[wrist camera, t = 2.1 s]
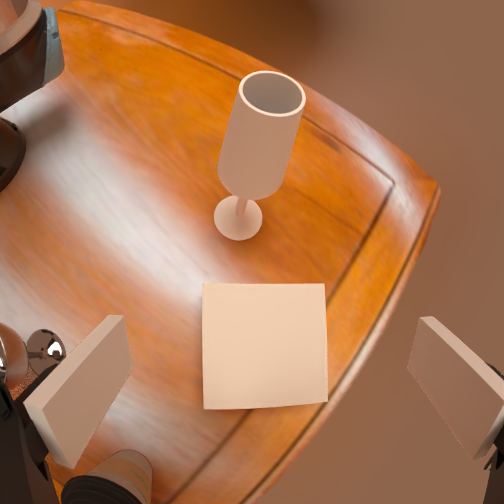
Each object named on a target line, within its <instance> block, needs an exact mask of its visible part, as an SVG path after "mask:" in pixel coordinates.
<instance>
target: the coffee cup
mask: <svg viewBox="0 0 504 504" xmlns="http://www.w3.org/2000/svg"><path fill="white" fill-rule="evenodd" d="M152 475H153V471H152V467H151V465H150V463H149V461H148V460H147V459H146V458H145V457H144V456H143V455H142V454H140V453H138V452H136V451H132V450H123V451H119V452H117V453H115V454H114V455H113V456H111V457H110V458H109V459H107V460H105V461H103V462H101V463H100V464H99V465H97V466H96V467H95V468H93V469H92V470H90V471H89V472H88V473H86V474H85V475H82V476H77V477H74V478H72V479H70V480H69V481H68V482H67V483H66V484H65V486H64V488H63V490H62V493H61V503H62V504H150V503H151V494H152V486H151V484H152Z"/></svg>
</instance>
